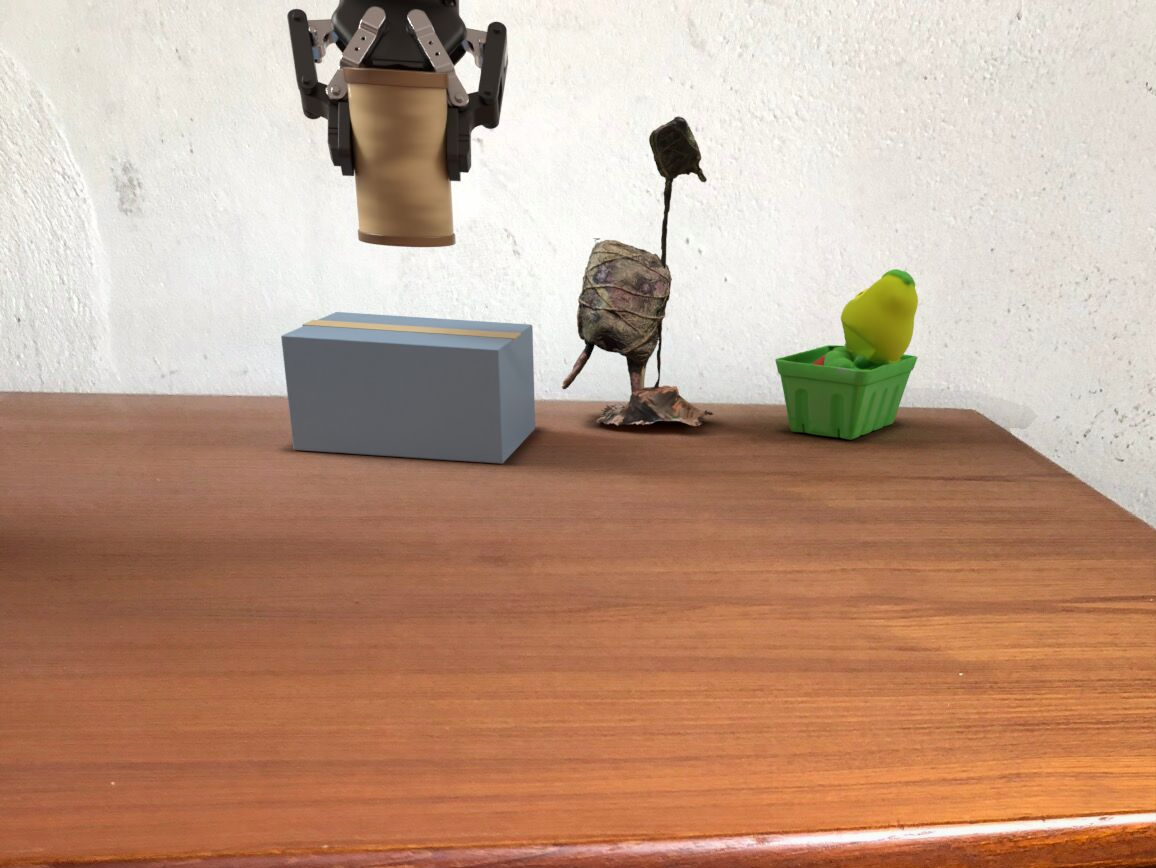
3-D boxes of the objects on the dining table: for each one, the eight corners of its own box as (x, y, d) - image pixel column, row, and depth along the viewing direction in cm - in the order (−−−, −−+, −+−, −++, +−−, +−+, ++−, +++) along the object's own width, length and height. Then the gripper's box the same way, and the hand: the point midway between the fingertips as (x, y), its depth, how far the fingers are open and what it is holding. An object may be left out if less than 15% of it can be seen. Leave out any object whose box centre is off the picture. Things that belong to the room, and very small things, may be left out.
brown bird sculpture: (592, 406, 118) (589, 109, 108) (727, 422, 116) (738, 119, 105) (547, 423, 112) (540, 108, 101) (690, 440, 109) (697, 119, 99)
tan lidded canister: (344, 243, 96) (329, 66, 90) (371, 234, 101) (358, 67, 96) (445, 249, 95) (435, 73, 90) (466, 240, 101) (458, 73, 96)
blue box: (291, 450, 100) (278, 334, 96) (343, 416, 110) (333, 310, 106) (504, 464, 99) (500, 348, 96) (536, 429, 110) (534, 323, 106)
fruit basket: (826, 410, 122) (836, 255, 116) (928, 425, 119) (945, 266, 113) (767, 432, 113) (775, 265, 107) (876, 448, 110) (891, 278, 104)
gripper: (513, 6, 103) (517, 218, 99) (296, -8, 101) (292, 207, 97) (509, -97, 95) (513, 128, 92) (275, -115, 93) (269, 114, 90)
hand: (399, 168), depth 94 cm, fingers closed on tan lidded canister, 6 cm apart
